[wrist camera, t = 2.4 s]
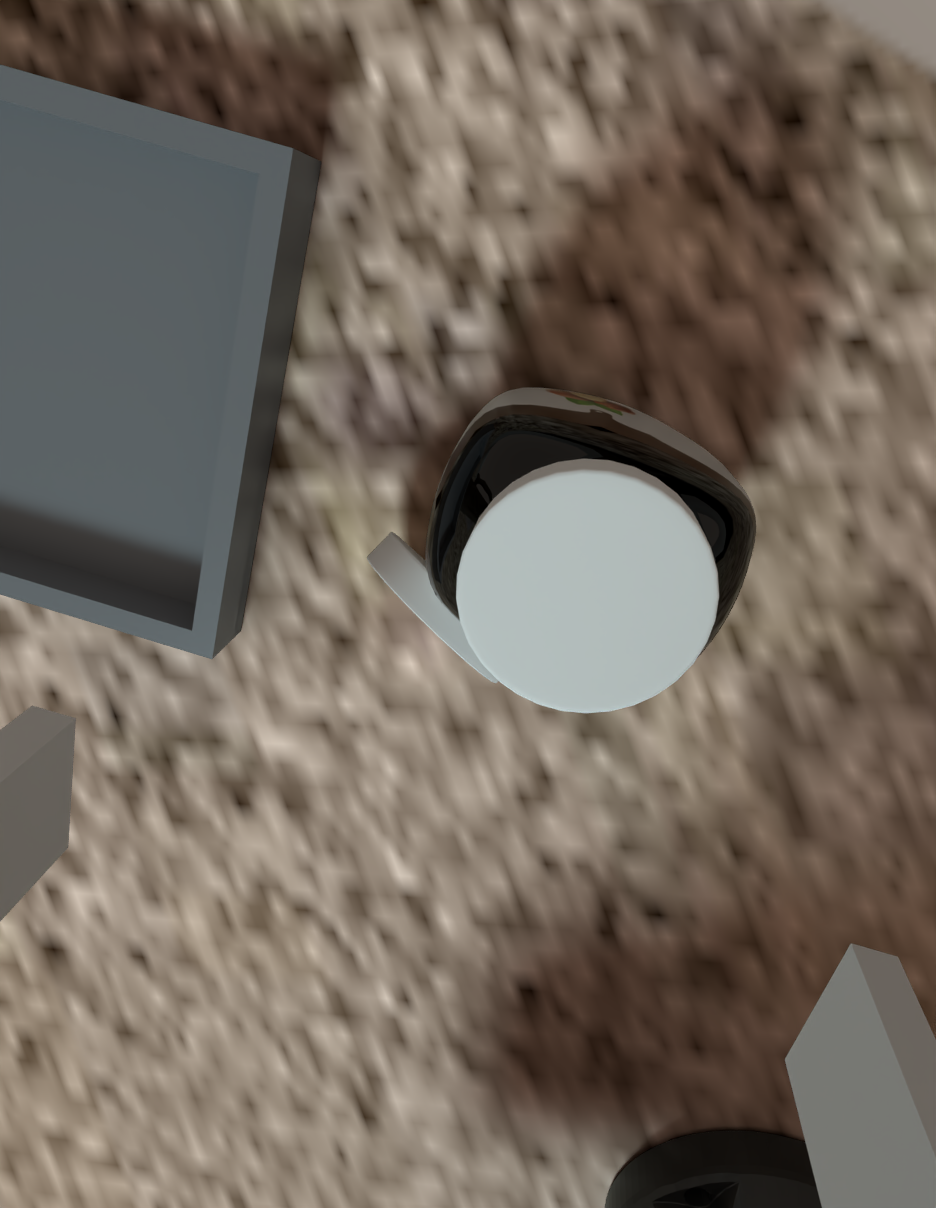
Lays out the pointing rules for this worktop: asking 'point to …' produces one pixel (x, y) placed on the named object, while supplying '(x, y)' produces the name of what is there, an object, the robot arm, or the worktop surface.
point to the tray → (140, 356)
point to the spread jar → (576, 550)
